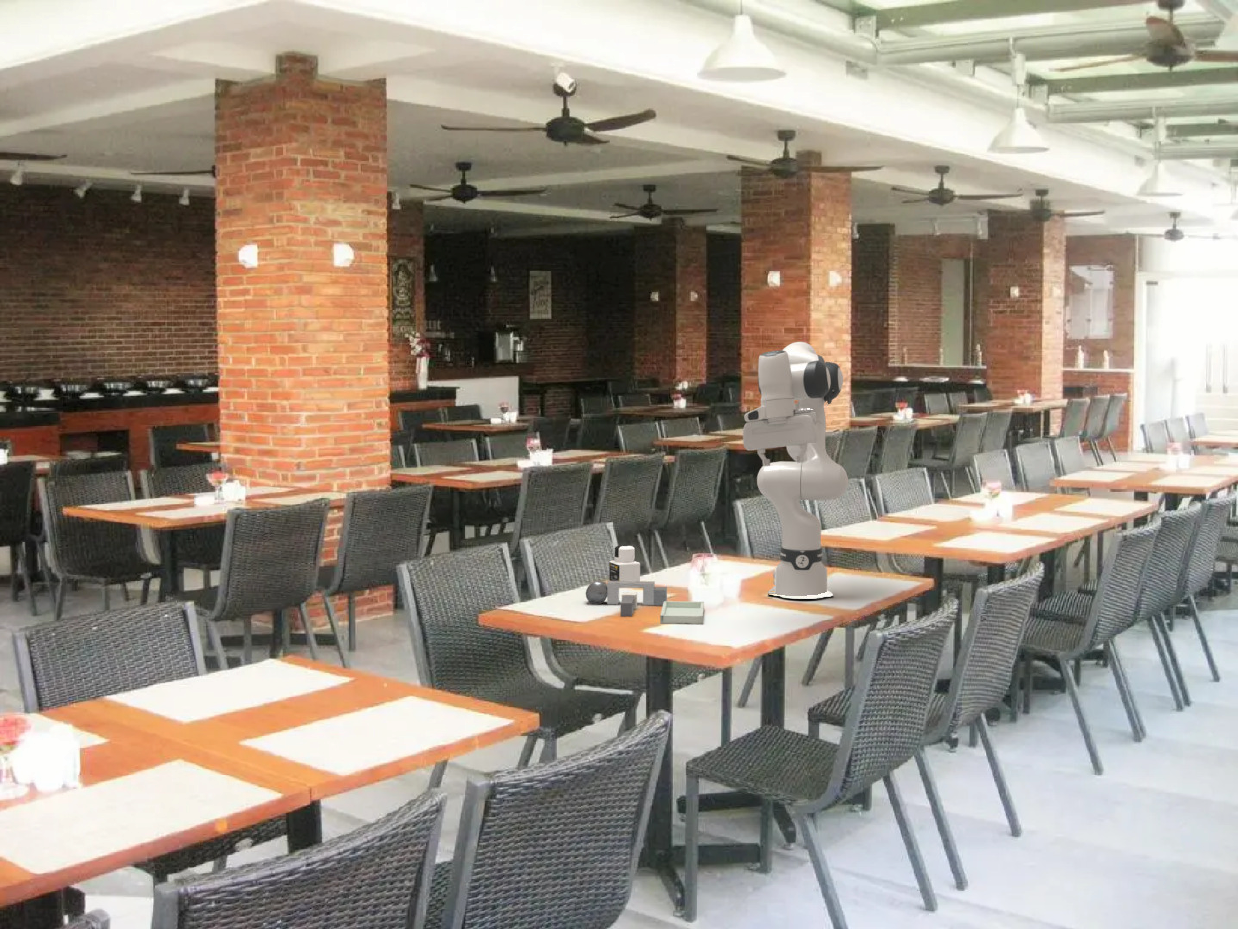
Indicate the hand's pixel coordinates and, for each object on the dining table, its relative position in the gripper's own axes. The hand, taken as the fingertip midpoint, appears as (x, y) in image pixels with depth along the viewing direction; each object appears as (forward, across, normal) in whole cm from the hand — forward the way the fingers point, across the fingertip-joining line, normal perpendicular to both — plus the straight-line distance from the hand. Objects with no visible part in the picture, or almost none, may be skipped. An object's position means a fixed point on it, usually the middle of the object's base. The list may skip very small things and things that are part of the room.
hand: (783, 464), depth 348 cm
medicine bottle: (+31, +65, -29) cm, 77 cm away
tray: (+38, +30, +5) cm, 49 cm away
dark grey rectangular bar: (+36, +46, +6) cm, 59 cm away
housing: (+34, +51, -3) cm, 62 cm away
